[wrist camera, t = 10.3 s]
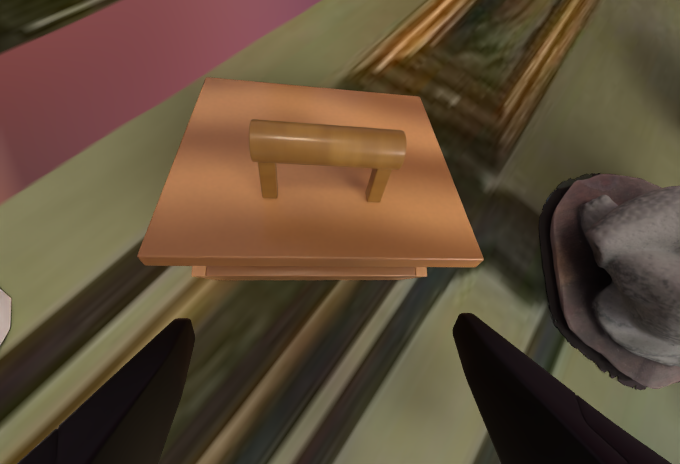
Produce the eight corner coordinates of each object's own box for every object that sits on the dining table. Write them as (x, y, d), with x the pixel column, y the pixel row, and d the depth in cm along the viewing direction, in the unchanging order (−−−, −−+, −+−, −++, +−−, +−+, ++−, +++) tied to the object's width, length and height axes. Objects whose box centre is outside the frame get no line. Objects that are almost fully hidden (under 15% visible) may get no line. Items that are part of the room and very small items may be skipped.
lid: (476, 267, 14) (543, 206, 10) (144, 266, 12) (74, 188, 8) (416, 106, 21) (442, 37, 18) (208, 88, 19) (188, 5, 16)
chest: (399, 279, 24) (427, 276, 19) (216, 280, 22) (190, 276, 17) (392, 141, 27) (415, 105, 22) (227, 130, 25) (209, 87, 19)
